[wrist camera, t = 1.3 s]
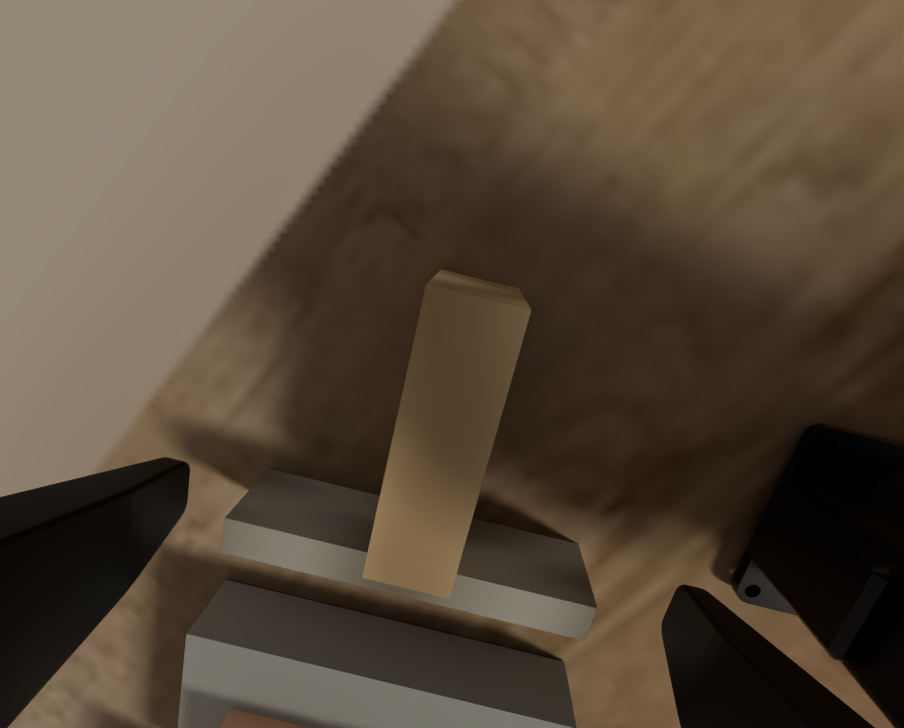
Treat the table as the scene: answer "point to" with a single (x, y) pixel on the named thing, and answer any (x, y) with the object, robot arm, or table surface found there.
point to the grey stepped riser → (356, 670)
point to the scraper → (430, 485)
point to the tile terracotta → (253, 721)
